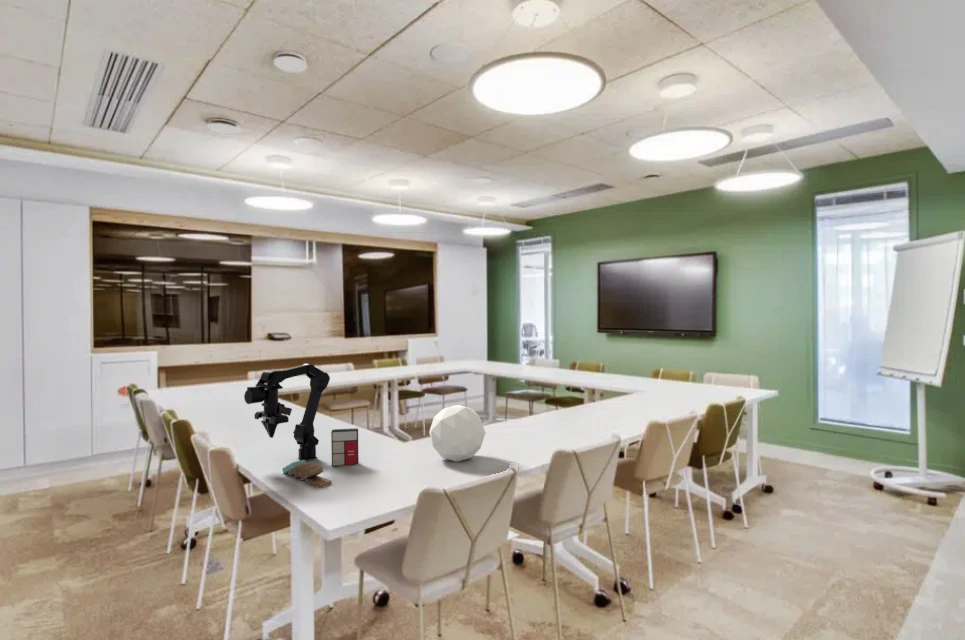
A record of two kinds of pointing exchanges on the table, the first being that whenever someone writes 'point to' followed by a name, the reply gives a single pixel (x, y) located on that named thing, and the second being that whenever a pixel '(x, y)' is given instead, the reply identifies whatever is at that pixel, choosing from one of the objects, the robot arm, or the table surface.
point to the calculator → (344, 447)
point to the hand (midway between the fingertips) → (271, 437)
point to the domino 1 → (292, 466)
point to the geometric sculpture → (457, 433)
